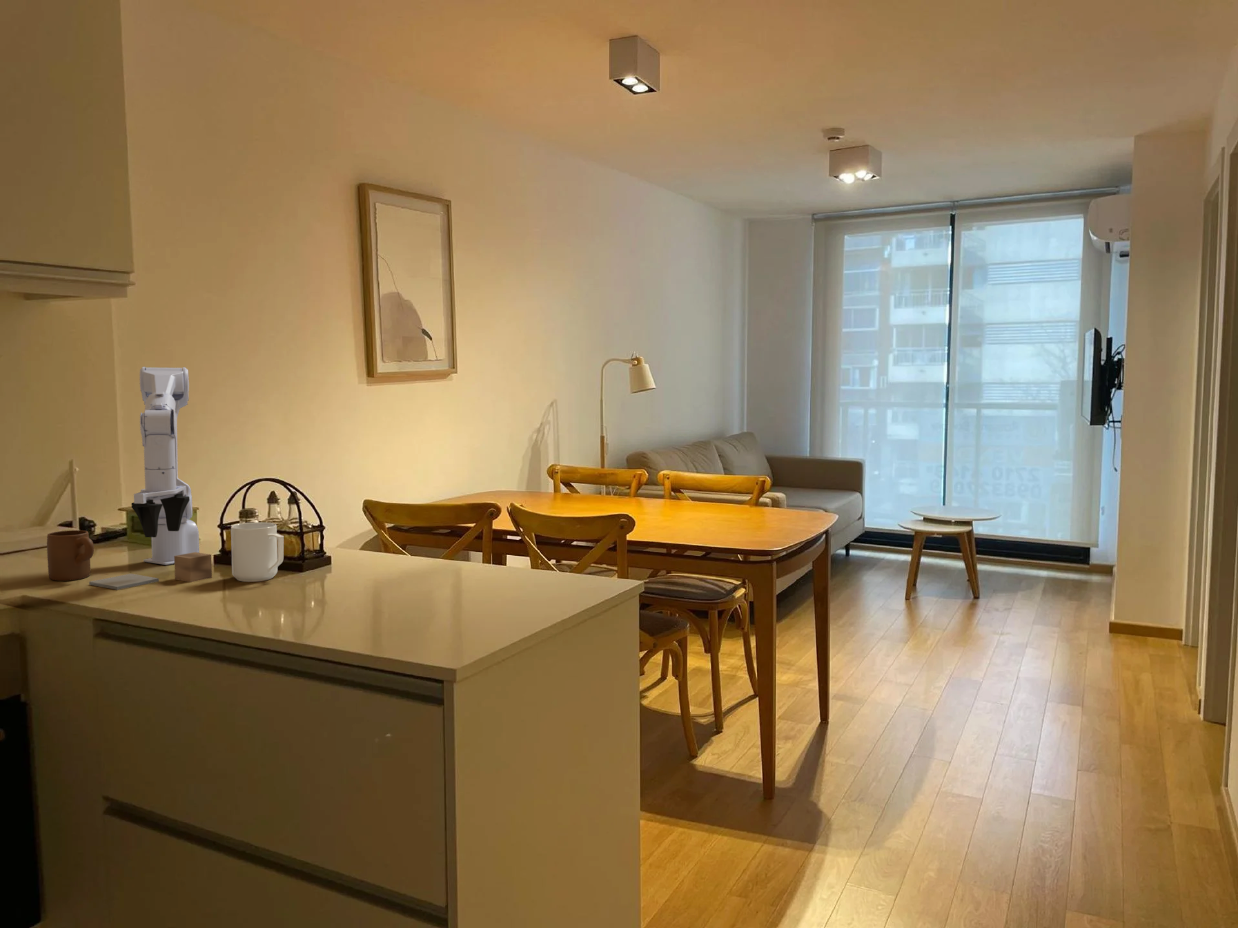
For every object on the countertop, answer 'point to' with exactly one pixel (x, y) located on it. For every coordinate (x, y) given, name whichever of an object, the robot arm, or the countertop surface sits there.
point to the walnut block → (193, 567)
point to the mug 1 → (69, 555)
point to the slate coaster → (123, 581)
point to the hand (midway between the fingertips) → (162, 533)
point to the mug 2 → (256, 551)
